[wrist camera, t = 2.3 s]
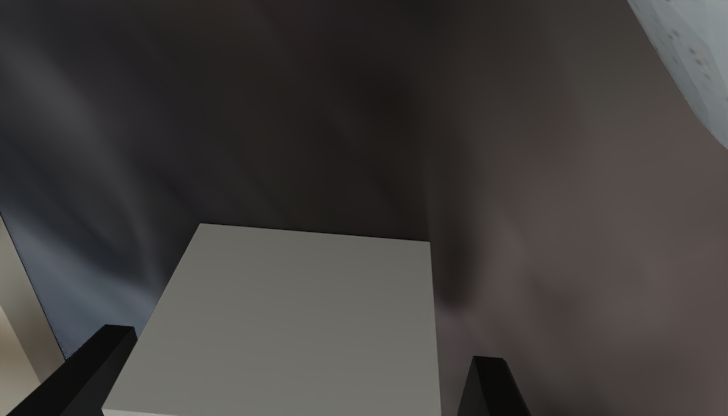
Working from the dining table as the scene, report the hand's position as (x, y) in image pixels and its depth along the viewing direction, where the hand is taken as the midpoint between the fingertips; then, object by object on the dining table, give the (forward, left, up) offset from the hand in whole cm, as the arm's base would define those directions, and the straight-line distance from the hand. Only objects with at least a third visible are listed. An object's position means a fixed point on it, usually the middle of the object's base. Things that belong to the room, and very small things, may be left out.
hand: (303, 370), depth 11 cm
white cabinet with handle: (0, 0, -2) cm, 2 cm away
